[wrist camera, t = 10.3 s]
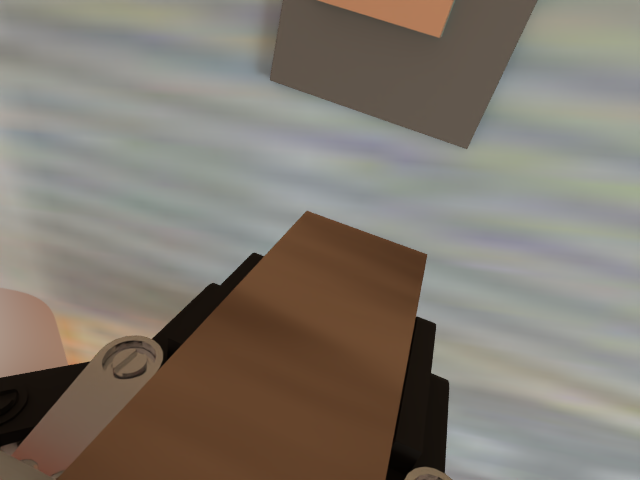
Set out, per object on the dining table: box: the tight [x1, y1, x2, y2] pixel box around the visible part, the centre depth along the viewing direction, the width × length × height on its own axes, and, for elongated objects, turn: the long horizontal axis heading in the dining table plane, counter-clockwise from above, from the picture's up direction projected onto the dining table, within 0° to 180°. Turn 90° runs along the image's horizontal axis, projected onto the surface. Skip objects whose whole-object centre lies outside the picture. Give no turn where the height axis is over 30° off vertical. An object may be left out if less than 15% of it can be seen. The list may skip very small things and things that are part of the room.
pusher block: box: [57, 211, 427, 480], centre depth 9 cm, size 4×4×10 cm
